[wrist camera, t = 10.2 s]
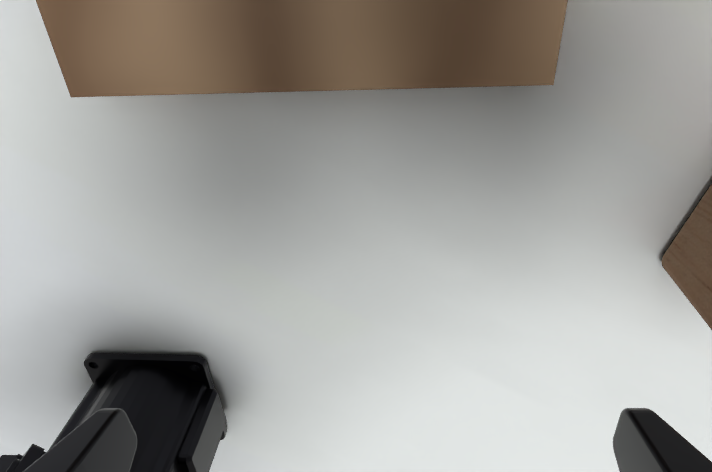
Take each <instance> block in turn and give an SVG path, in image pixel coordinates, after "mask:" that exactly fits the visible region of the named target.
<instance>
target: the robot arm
mask: <svg viewBox="0 0 712 472" xmlns="http://www.w3.org/2000/svg"><path fill="white" fill-rule="evenodd" d="M84 365H85V367H86V369H87V371H88V373H89V376H90V378H91V380H92V382H93V385H92V386H91V388H90V389H89V391H88V392H87V394H86V395H85V397H84V398H83V400H82V401H81V403H80V404H79V406H78V407H77V409H76V410H75V411H74V413H73V414H72V416H71V417H70V419H69V420H68V422H67V423H66V425H65V426H64V428H63V429H62V431H61V432H60V434H59V435H58V437H57V438H56V440H55V441H54V443H53V444H52V446H51V447H50V449H49V450H48V451H47V452H44V449H43V448H41V447H39V446H37V445H35V444H32V445H31V447H30V448H29V449H28V450H27V452H26V453H25V454H24V456H22V455H20V454H18V455H2V456H1V457H0V472H209V470H210V467H211V464H212V461H213V459H214V456H215V453H216V450H217V447H218V444H219V441H220V440H222V439H224V438H225V435H226V432H227V428H226V425H225V424H226V418H225V414H224V411H223V407H222V404H221V401H220V397H219V394H218V392H217V391H216V389H215V388H214V385H213V381H212V378H211V375H210V371H209V368H208V365H207V362H206V360H205V359H204V358H203V357H200V356H196V355H160V354H119V353H91V354H89V355H88V357H87V358H86V359H85V361H84ZM613 448H614V453H615V457H616V460H617V464H618V467H619V471H620V472H712V462H711V461H710V460H709V459H708V458H706V457H705V456H704V455H703V454H702V453H701V452H700V451H698V450H697V449H696V448H695V447H694V446H693V445H691V444H690V443H689V442H688V441H687V440H686V439H685V438H683V437H682V436H681V435H680V434H679V433H678V432H677V431H675V430H674V429H673V428H672V427H671V426H670V425H668V424H667V423H666V422H665V421H664V420H663V419H662V418H660V417H659V416H658V415H657V414H656V413H655V412H653V411H652V410H650V409H646V408H626V409H624V410H623V411H622V412H621V415H620V418H619V421H618V424H617V427H616V431H615V434H614V437H613Z"/></svg>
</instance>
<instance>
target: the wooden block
mask: <svg viewBox="0 0 712 472" xmlns="http://www.w3.org/2000/svg"><path fill="white" fill-rule="evenodd" d="M662 266H663V267H664V269H665V270H666V271H667V273H668V274H669V275H670V277H671V278H672V279H673V280H674V282H675V283H676V284H677V286H678V287H679V288H680V289H681V291H682V292H683V293H684V295H685V296H686V297H687V299H688V300H689V301H690V302H691V304H692V305H693V306H694V308H695V309H696V310H697V311H698V313H699V314H700V315H701V317H702V318H703V319H704V320H705V322H706V323H707V324H708V326H709V327H710V328H711V330H712V184H711V185H710V187H709V188H708V190H707V191H706V193H705V194H704V196H703V197H702V199H701V200H700V202H699V203H698V205H697V206H696V208H695V209H694V211H693V212H692V214H691V215H690V217H689V218H688V220H687V221H686V222H685V224H684V225H683V227H682V228H681V230H680V231H679V233H678V234H677V236H676V237H675V239H674V240H673V242H672V243H671V245H670V246H669V248H668V249H667V251H666V252H665V254H664V255H663V257H662Z"/></svg>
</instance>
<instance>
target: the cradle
mask: <svg viewBox="0 0 712 472" xmlns="http://www.w3.org/2000/svg"><path fill="white" fill-rule="evenodd" d="M36 2H37V5H38V8H39V10H40V13H41V16H42V19H43V21H44V24H45V27H46V30H47V32H48V35H49V38H50V41H51V43H52V46H53V49H54V52H55V54H56V57H57V60H58V63H59V66H60V68H61V71H62V74H63V77H64V79H65V82H66V85H67V88H68V90H69V93H70V96H71V97H96V96H135V95H175V94H214V93H254V92H293V91H333V90H372V89H412V88H451V87H491V86H530V85H553V84H554V78H555V72H556V66H557V60H558V55H559V49H560V43H561V37H562V31H563V25H564V19H565V13H566V7H567V2H568V0H36Z"/></svg>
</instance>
